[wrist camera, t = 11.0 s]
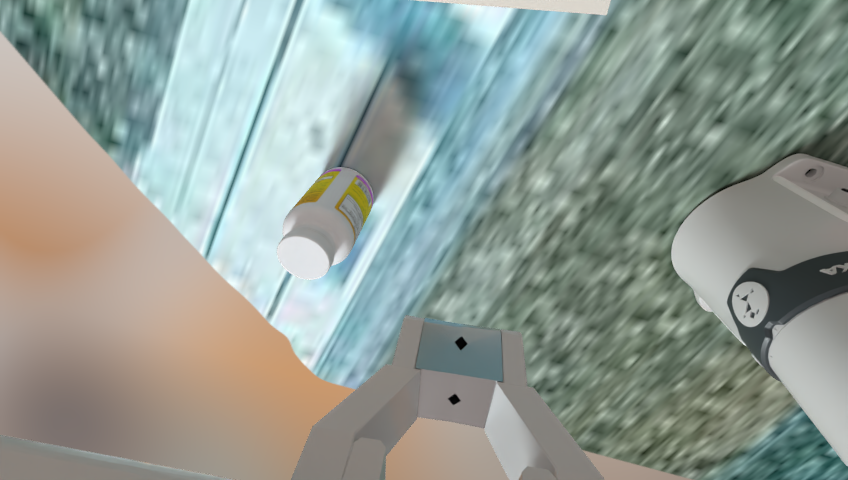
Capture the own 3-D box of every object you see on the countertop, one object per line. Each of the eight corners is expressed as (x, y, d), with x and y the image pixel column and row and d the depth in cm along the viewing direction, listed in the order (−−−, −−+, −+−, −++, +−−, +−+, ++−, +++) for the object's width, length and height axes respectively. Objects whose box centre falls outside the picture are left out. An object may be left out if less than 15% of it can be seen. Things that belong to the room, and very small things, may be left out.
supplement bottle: (312, 204, 45) (259, 271, 34) (325, 155, 41) (270, 212, 30) (366, 226, 45) (330, 298, 35) (383, 180, 42) (349, 244, 31)
